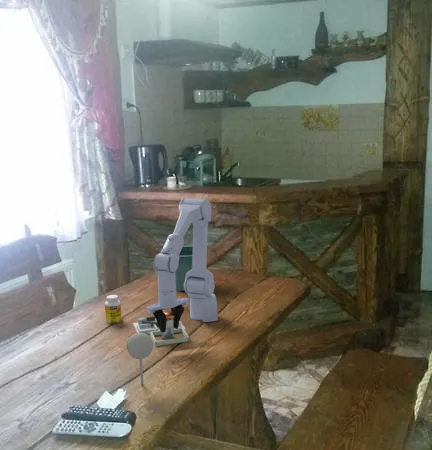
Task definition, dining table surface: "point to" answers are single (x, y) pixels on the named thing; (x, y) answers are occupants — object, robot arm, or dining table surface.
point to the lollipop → (140, 348)
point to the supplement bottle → (113, 309)
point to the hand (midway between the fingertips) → (169, 329)
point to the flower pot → (183, 266)
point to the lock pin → (168, 325)
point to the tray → (170, 341)
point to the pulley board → (149, 325)
